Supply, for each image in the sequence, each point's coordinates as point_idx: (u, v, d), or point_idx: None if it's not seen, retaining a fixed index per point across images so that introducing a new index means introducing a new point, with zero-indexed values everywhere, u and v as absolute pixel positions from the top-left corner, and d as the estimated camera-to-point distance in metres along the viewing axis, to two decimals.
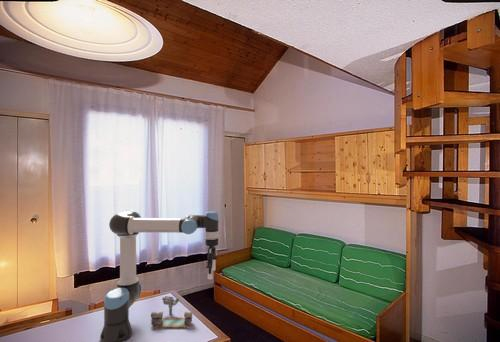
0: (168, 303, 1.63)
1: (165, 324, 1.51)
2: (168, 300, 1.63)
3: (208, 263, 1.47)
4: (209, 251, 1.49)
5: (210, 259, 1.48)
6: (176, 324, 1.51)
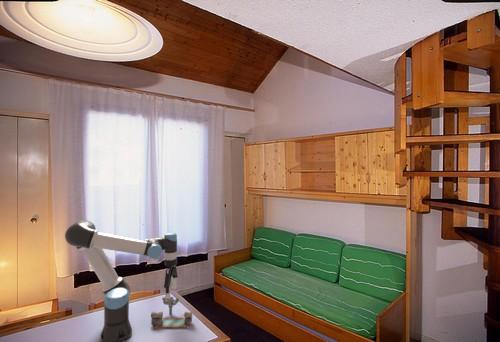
0: (168, 303, 1.63)
1: (165, 324, 1.51)
2: (168, 300, 1.63)
3: (165, 283, 1.56)
4: (167, 272, 1.58)
5: (167, 279, 1.57)
6: (176, 324, 1.51)
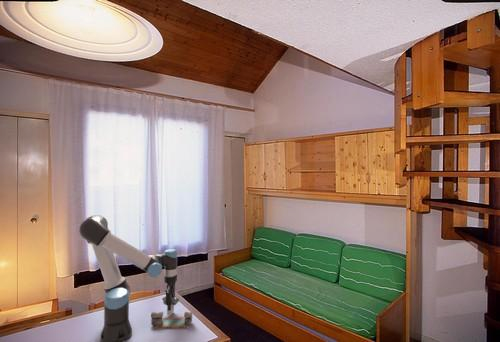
0: None
1: (165, 324, 1.51)
2: None
3: (167, 302, 1.59)
4: (166, 292, 1.58)
5: (168, 298, 1.59)
6: (176, 324, 1.51)
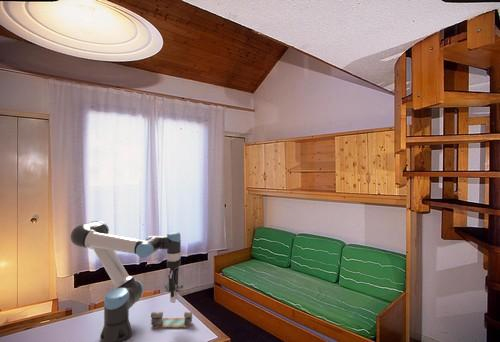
0: None
1: (165, 324, 1.51)
2: None
3: (170, 288, 1.48)
4: (169, 277, 1.47)
5: (171, 284, 1.48)
6: (176, 324, 1.51)
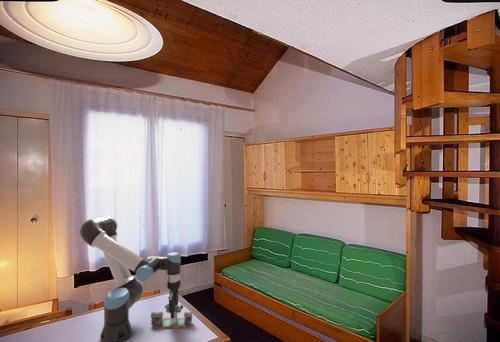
0: None
1: (165, 324, 1.51)
2: None
3: (170, 309, 1.48)
4: (170, 299, 1.47)
5: (171, 306, 1.48)
6: (176, 324, 1.51)
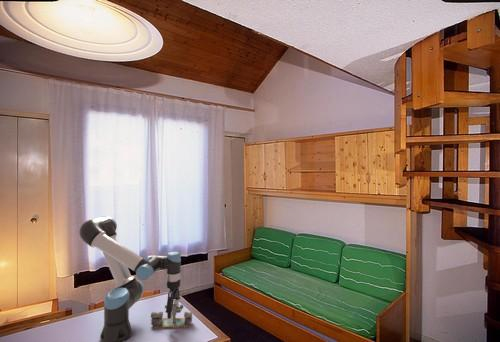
0: (172, 311, 1.52)
1: (165, 324, 1.51)
2: (172, 308, 1.52)
3: (167, 308, 1.44)
4: (169, 295, 1.47)
5: (169, 303, 1.45)
6: (176, 324, 1.51)
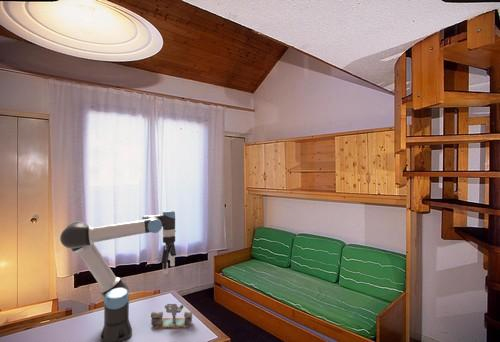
0: (172, 311, 1.52)
1: (165, 324, 1.51)
2: (172, 308, 1.52)
3: (163, 259, 1.57)
4: (164, 248, 1.60)
5: (165, 255, 1.58)
6: (176, 324, 1.51)
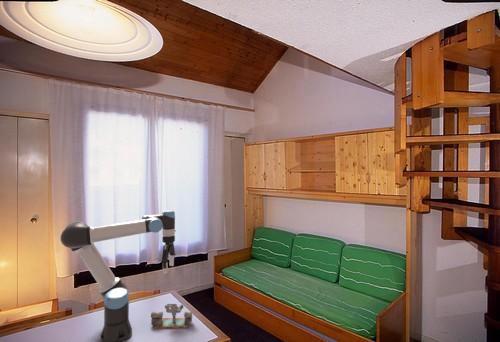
0: (172, 311, 1.52)
1: (165, 324, 1.51)
2: (172, 308, 1.52)
3: (162, 258, 1.58)
4: (164, 247, 1.60)
5: (165, 255, 1.59)
6: (176, 324, 1.51)
